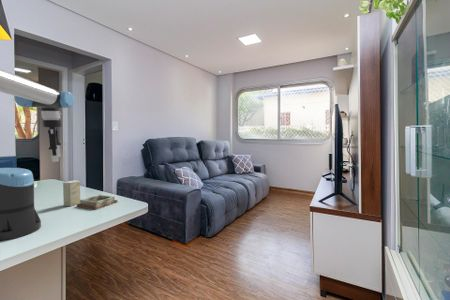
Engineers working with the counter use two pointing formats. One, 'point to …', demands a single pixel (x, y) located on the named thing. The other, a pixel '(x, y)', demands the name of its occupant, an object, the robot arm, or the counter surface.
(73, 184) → the skincare box
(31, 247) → the counter surface
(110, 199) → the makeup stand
